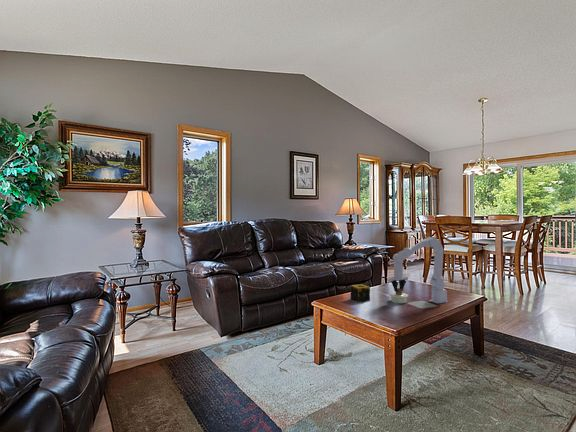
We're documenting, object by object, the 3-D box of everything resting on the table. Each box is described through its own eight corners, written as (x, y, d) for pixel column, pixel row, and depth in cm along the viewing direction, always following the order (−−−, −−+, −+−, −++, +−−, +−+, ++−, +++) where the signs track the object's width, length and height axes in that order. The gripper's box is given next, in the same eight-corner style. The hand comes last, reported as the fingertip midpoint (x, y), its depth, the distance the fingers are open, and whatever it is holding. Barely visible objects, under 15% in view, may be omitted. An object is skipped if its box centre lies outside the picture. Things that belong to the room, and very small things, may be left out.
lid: (400, 292, 228) (400, 286, 228) (412, 296, 217) (411, 289, 217) (385, 294, 224) (385, 287, 224) (397, 298, 213) (397, 291, 213)
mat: (422, 301, 221) (422, 300, 221) (438, 306, 208) (438, 306, 208) (406, 303, 216) (406, 302, 216) (421, 309, 203) (421, 308, 203)
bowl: (399, 299, 226) (399, 293, 226) (409, 303, 218) (409, 296, 218) (388, 301, 223) (388, 294, 223) (397, 304, 214) (397, 297, 214)
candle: (350, 299, 230) (349, 285, 230) (362, 297, 234) (362, 283, 234) (358, 302, 221) (357, 288, 221) (370, 301, 224) (370, 286, 224)
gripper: (393, 273, 214) (393, 293, 214) (410, 271, 219) (411, 291, 219) (386, 271, 221) (386, 291, 221) (403, 269, 226) (404, 289, 226)
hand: (398, 291), depth 220 cm, fingers open, 4 cm apart
